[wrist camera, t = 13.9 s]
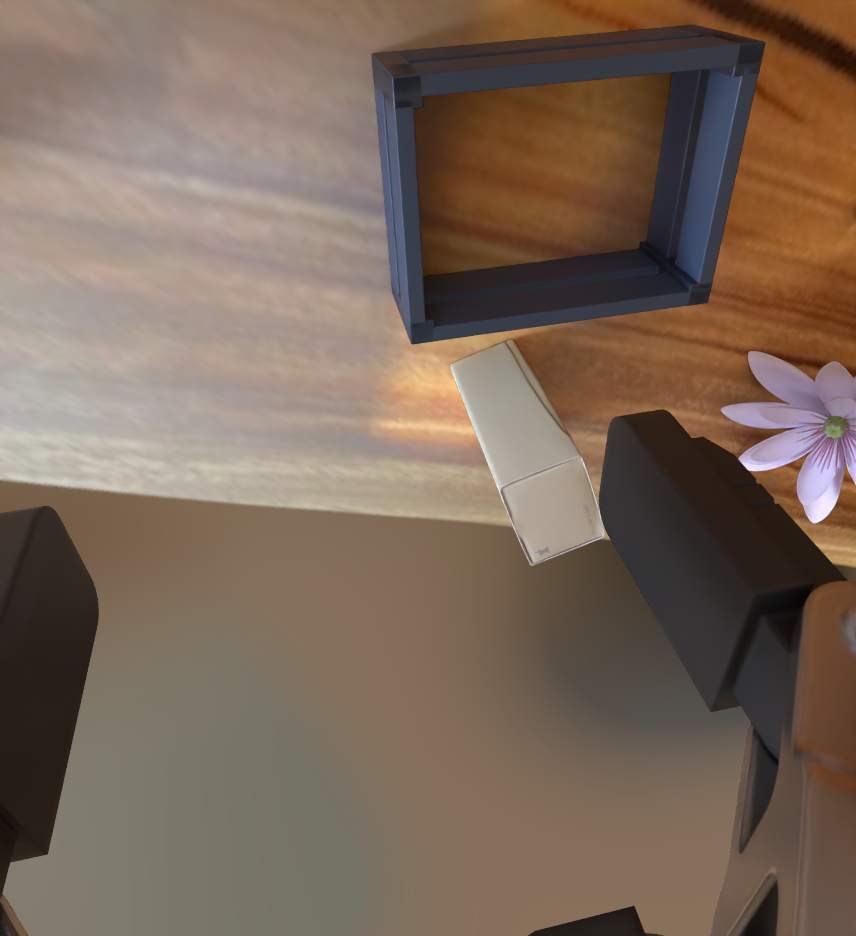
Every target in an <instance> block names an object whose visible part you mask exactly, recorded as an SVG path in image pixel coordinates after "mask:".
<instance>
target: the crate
mask: <svg viewBox="0 0 856 936" xmlns="http://www.w3.org/2000/svg"><path fill="white" fill-rule="evenodd" d="M764 48H765V42H764V41H759V40H755V39H751V38H747V37H743V36H739V35H735V34H730V33H726V32H722V31H718V30H714V29H710V28H705V27H701V26H697V25H687V26H675V27H665V28H653V29H642V30H631V31H619V32H608V33H597V34H585V35H574V36H563V37H551V38H540V39H529V40H517V41H506V42H495V43H483V44H472V45H461V46H449V47H438V48H427V49H415V50H404V51H392V52H381V53H372V65H373V76H374V87H375V99H376V110H377V122H378V133H379V145H380V156H381V168H382V179H383V190H384V202H385V213H386V225H387V236H388V248H389V259H390V271H391V283H392V294H393V296H394V299H395V302H396V304H397V307H398V310H399V312H400V315H401V318H402V321H403V323H404V326H405V329H406V331H407V334H408V337H409V339H410V342H411V344H419V343H426V342H433V341H439V340H446V339H453V338H460V337H467V336H474V335H481V334H489V333H496V332H503V331H510V330H517V329H524V328H531V327H538V326H545V325H553V324H560V323H567V322H574V321H581V320H588V319H595V318H602V317H610V316H617V315H624V314H631V313H638V312H645V311H652V310H659V309H667V308H674V307H681V306H690V305H697V304H704V303H708V300H709V296H710V291H711V287H712V281H713V277H714V272H715V268H716V263H717V259H718V254H719V250H720V245H721V241H722V236H723V232H724V227H725V223H726V218H727V214H728V209H729V205H730V200H731V195H732V191H733V186H734V182H735V177H736V173H737V168H738V164H739V159H740V155H741V150H742V146H743V141H744V137H745V132H746V128H747V123H748V119H749V114H750V110H751V105H752V101H753V96H754V92H755V87H756V83H757V78H758V74H759V70H760V66H761V61H762V57H763V52H764ZM671 72H673V74H672V81H671V88H670V94H669V101H668V107H667V114H666V120H665V127H664V133H663V140H662V146H661V153H660V160H659V166H658V173H657V179H656V186H655V192H654V199H653V205H652V212H651V219H650V225H649V232H648V238H647V241H644V242H640V247H639V249H635V250H627V251H620V252H612V253H604V254H596V255H589V256H581V257H573V258H565V259H558V260H550V261H542V262H534V263H526V264H519V265H511V266H503V267H495V268H488V269H480V270H472V271H464V272H457V273H449V274H441V275H433V276H425V277H423V263H422V245H421V227H420V209H419V192H418V174H417V156H416V138H415V120H414V109H415V108H423V106H424V102H423V96H433V95H443V94H454V93H464V92H474V91H485V90H495V89H505V88H516V87H526V86H536V85H547V84H557V83H567V82H578V81H588V80H598V79H609V78H619V77H629V76H640V75H650V74H660V73H671Z"/></svg>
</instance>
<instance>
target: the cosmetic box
mask: <svg viewBox="0 0 856 936" xmlns="http://www.w3.org/2000/svg"><path fill="white" fill-rule="evenodd" d="M451 371H452V374H453V376H454V379H455V382H456V384H457V387H458V390H459V392H460V395H461V397H462V400H463V402H464V405H465V407H466V410H467V412H468V415H469V418H470V420H471V423H472V425H473V428H474V430H475V433H476V435H477V438H478V440H479V443H480V445H481V448H482V450H483V453H484V455H485V458H486V460H487V463H488V466H489V468H490V471H491V473H492V476H493V478H494V481H495V483H496V485H497V488H498V490H499V493H500V495H501V498H502V500H503V503H504V505H505V508H506V510H507V513H508V516H509V518H510V520H511V523H512V525H513V528H514V530H515V532H516V534H517V537H518V539H519V541H520V544H521V546H522V548H523V550H524V552H525V555H526V557H527V559H528V561H529V563H530V565H531V566H533V565H535V564H538V563H540V562H543V561H545V560H548V559H551V558H553V557H556V556H558V555H561V554H563V553H566V552H568V551H571V550H574V549H576V548H579V547H581V546H583V545H586V544H588V543H591V542H593V541H596V540H598V539H601V538H603V537H604V536H605V532H604V527H603V523H602V519H601V515H600V511H599V507H598V504H597V500H596V497H595V494H594V490H593V487H592V484H591V481H590V478H589V475H588V472H587V469H586V466H585V463H584V460H583V457H582V455H581V454H580V452H579V450H578V448H577V447H576V445H575V443H574V441H573V440H572V438H571V436H570V435H569V433H568V431H567V429H566V428H565V426H564V424H563V423H562V421H561V419H560V417H559V416H558V414H557V412H556V410H555V409H554V407H553V405H552V403H551V402H550V400H549V398H548V397H547V395H546V393H545V391H544V390H543V388H542V386H541V384H540V383H539V381H538V379H537V378H536V376H535V374H534V372H533V371H532V369H531V367H530V366H529V364H528V362H527V361H526V359H525V357H524V355H523V354H522V352H521V350H520V349H519V347H518V345H517V344H516V342H515V340H514V339H510V340H508V341H505V342H503V343H500V344H498V345H495V346H493V347H490V348H488V349H486V350H483V351H481V352H478V353H476V354H473V355H471V356H469V357H466V358H464V359H462V360H459V361H457V362H454V363H453V364H451Z"/></svg>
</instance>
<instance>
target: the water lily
mask: <svg viewBox="0 0 856 936" xmlns="http://www.w3.org/2000/svg"><path fill="white" fill-rule="evenodd" d="M748 362H749V365H750V368H751V370H752V372H753V374H754V376H755V377H756V379H757V380H758V381H759V382H760V383H761V384H762V386H764V387H765V388H766V389H767V390H768V391H769V392H771V393H772V394H773V395H775V396H776V397H778V398H779V399H781V400H783V401H785V402H787V403H789V404H784V403H775V402H750V403H740V404H733V405H729V406H725V407H722V408H721V411H722V413H723V414H724V415H725V416H727V417H728V418H730V419H731V420H733V421H735V422H738V423H740V424H743V425H747V426H751V427H757V428H768V429H776V428H792V427H800V428H796V429H793V430H789V431H786V432H783V433H780V434H777V435H775V436H772V437H770V438H768V439H766V440H764V441H762V442H760V443H758V444H756V445H754V446H753V447H751V448H750V449H748V450H747V451H745V452H744V453H743V454H742V455H741V456H740V457H739V461H740V462H741V463H742V464H743V465H744V466H745V467H746V468H747V469H748V471H763V470H769V469H773V468H777V467H780V466H783V465H785V464H788V463H790V462H792V461H795V460H797V459H798V458H800V457H802V456H804V455H805V454H807V453H808V452H810V451H811V450H812V451H811V452H810V454H809V455H808V456H807V458H806V459H805V461H804V463H803V466H802V468H801V470H800V473H799V476H798V480H797V494H798V497H799V500H800V502H801V503H802V504H803V506H804V510H805V512H806V515H807V517H808V518H809V520H810V521H811V522H813V523H817V522H819V521H821V520H823V519H824V518H825V517H826V516H827V515H828V514H829V513H830V512H831V510H832V509H833V507H834V505H835V504H836V501H837V499H838V496H839V493H840V489H841V486H842V482H843V477H844V455H845V460H846V465H847V468H848V471H849V473H850V475H851V477H852V479H853V481H854V483H855V485H856V376H855V377H854V378H853V377H852V376H851V375H850V373H849V372H848V371H847V370H846V368H845V367H843V366H842V365H841V364H840V363H839V362H836V361H834V362H830V363H828V364H826V365H825V366H824V367H823V368H821V370H820V371H819V372H818V374H817V376H816V379H815V381H814V380H812V379H811V378H810V377H809V376H808V375H806V374H805V373H804V372H802V371H801V370H799V369H798V368H796V367H795V366H793V365H791V364H789V363H787V362H786V361H783V360H781V359H779V358H777V357H774V356H772V355H769V354H766V353H762V352H757V351H750V352H749V353H748ZM790 404H791V405H790ZM811 425H813V426H811ZM801 426H805V427H801ZM841 438H842V439H841ZM843 450H844V452H843Z"/></svg>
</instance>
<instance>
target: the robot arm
mask: <svg viewBox="0 0 856 936" xmlns="http://www.w3.org/2000/svg"><path fill="white" fill-rule="evenodd" d="M599 507H600V513H601V518H602V521H603V525H604V527H605V530H606V532H607V534H608V536H609V538H610V539H611V541H612V543H613V544H614V546H615V548H616V550H617V551H618V553H619V555H620V556H621V558H622V560H623V562H624V563H625V565H626V567H627V568H628V570H629V572H630V574H631V575H632V577H633V579H634V581H635V582H636V584H637V586H638V588H639V589H640V591H641V593H642V594H643V596H644V598H645V599H646V601H647V603H648V605H649V607H650V608H651V610H652V612H653V613H654V615H655V617H656V619H657V620H658V622H659V624H660V625H661V627H662V629H663V631H664V632H665V634H666V636H667V638H668V639H669V641H670V643H671V645H672V646H673V648H674V650H675V651H676V653H677V655H678V656H679V658H680V660H681V662H682V664H683V665H684V667H685V669H686V670H687V672H688V674H689V676H690V677H691V679H692V681H693V683H694V684H695V686H696V687H697V689H698V691H699V692H700V694H701V696H702V698H703V700H704V701H705V703H706V705H707V707H708V708H709V710H710V712H713V711H719V710H723V709H727V708H732V707H737V706H741V707H742V708H743V710H744V711H745V713H746V715H747V716H748V718H749V720H750V721H751V724H750V726H749V728H748V731H747V736H746V741H745V748H744V755H743V762H742V770H741V777H740V783H739V791H738V798H737V805H736V813H735V819H734V826H733V833H732V840H731V847H730V855H729V860H728V865H727V870H726V875H725V878H724V882H723V885H722V889H721V892H720V895H719V898H718V902H717V906H716V910H715V914H714V918H713V923H712V928H711V933H710V936H856V581H848V580H847V579H846V578H845V577H844V576H843V575H842V574H841V573H840V572H839V570H838V569H837V568H836V567H835V566H834V565H833V564H832V563H831V562H830V560H829V559H828V558H827V557H826V556H825V555H824V554H823V553H822V552H821V550H820V549H819V548H818V547H817V546H816V545H815V544H814V543H813V542H812V540H811V539H810V538H809V537H808V536H807V535H806V534H805V533H804V532H803V530H802V529H801V528H800V527H799V526H798V525H797V524H796V523H795V522H794V520H793V519H792V518H791V517H790V516H789V515H788V514H787V513H786V512H785V511H784V509H783V508H782V507H781V506H780V505H779V504H775V503H774V498H773V497H772V496H771V495H770V494H769V493H768V492H767V491H766V489H765V488H764V487H763V486H762V485H761V484H757V483H756V478H755V477H754V476H753V475H752V474H751V473H750V472H749V471H748V469H747V468H746V467H745V466H744V465H743V464H742V463H741V462H740V461H739V459H738V458H737V457H736V456H735V455H733V454H732V453H730V452H728V451H727V450H725V449H723V448H722V447H720V446H718V445H716V444H715V443H713V442H711V441H710V440H708V439H706V438H705V437H698V438H691V437H690V435H689V434H688V433H687V432H686V431H685V430H684V428H683V427H682V426H681V425H680V424H679V423H678V421H677V420H676V419H675V418H674V417H673V415H672V414H671V413H670V412H668V411H667V410H655V411H649V412H643V413H636V414H630V415H624V416H618V417H615V418H613V419H612V421H611V423H610V426H609V430H608V436H607V443H606V450H605V457H604V464H603V471H602V478H601V485H600V492H599ZM98 617H99V610H98V598H97V593H96V589H95V586H94V583H93V581H92V578H91V577H90V575H89V573H88V571H87V569H86V567H85V565H84V563H83V561H82V559H81V557H80V555H79V554H78V552H77V550H76V548H75V546H74V544H73V542H72V540H71V538H70V536H69V535H68V533H67V531H66V529H65V527H64V525H63V523H62V521H61V519H60V517H59V516H58V514H57V513H56V511H55V510H54V509H53V508H51V507H49V506H42V507H36V508H29V509H23V510H17V511H10V512H4V513H0V936H28V934H27V932H26V930H25V929H24V927H23V925H22V924H21V922H20V920H19V918H18V917H17V915H16V913H15V912H14V910H13V908H12V907H11V905H10V903H9V902H8V900H7V899H6V898H5V897H4V895H3V894H2V892H3V888H4V884H5V880H6V876H7V872H8V868H9V865H10V862H15V861H19V860H23V859H28V858H33V857H38V856H42V855H47V854H48V851H49V846H50V841H51V837H52V833H53V828H54V823H55V819H56V814H57V809H58V804H59V800H60V796H61V791H62V786H63V782H64V777H65V773H66V768H67V763H68V759H69V754H70V750H71V745H72V740H73V736H74V731H75V727H76V722H77V717H78V712H79V708H80V703H81V699H82V694H83V690H84V685H85V681H86V676H87V671H88V667H89V662H90V657H91V653H92V648H93V644H94V639H95V634H96V630H97V625H98ZM528 936H662V935H658V934H650V933H645V932H644V930H643V927H642V925H641V922H640V919H639V917H638V914H637V912H636V909H635V906H632V907H628V908H624V909H620V910H616V911H612V912H609V913H604V914H600V915H596V916H593V917H589V918H585V919H581V920H577V921H573V922H569V923H565V924H561V925H557V926H553V927H549V928H545V929H541V930H537V931H534V932H533V933H531V934H530V935H528Z"/></svg>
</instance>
